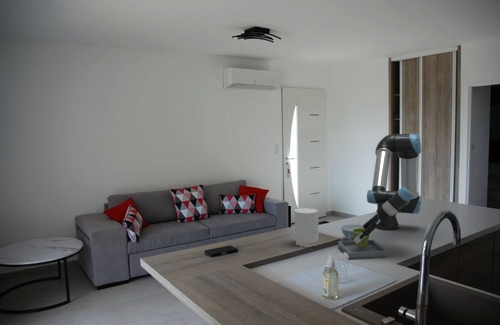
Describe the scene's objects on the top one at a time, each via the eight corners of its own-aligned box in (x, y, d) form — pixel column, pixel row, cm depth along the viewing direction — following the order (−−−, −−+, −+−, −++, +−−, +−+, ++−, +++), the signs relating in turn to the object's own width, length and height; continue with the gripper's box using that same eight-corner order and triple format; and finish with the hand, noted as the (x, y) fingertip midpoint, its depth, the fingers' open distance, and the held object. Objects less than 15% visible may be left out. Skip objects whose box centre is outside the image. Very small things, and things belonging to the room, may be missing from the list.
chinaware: (338, 242, 226) (338, 229, 225) (344, 235, 239) (344, 223, 239) (364, 245, 219) (364, 232, 219) (369, 238, 232) (369, 225, 232)
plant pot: (371, 249, 202) (371, 233, 202) (353, 248, 204) (353, 233, 203) (369, 244, 212) (369, 228, 211) (352, 243, 213) (352, 228, 213)
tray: (338, 247, 218) (338, 241, 218) (373, 245, 219) (373, 239, 218) (348, 259, 198) (348, 252, 198) (386, 257, 199) (386, 251, 198)
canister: (304, 249, 217) (303, 214, 214) (290, 242, 228) (290, 209, 226) (323, 245, 223) (322, 211, 221) (309, 239, 235) (308, 206, 233)
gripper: (393, 221, 191) (360, 250, 197) (390, 211, 212) (360, 238, 218) (382, 210, 192) (349, 240, 198) (380, 201, 213) (350, 228, 219)
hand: (355, 239), depth 208 cm, fingers closed on plant pot, 9 cm apart
